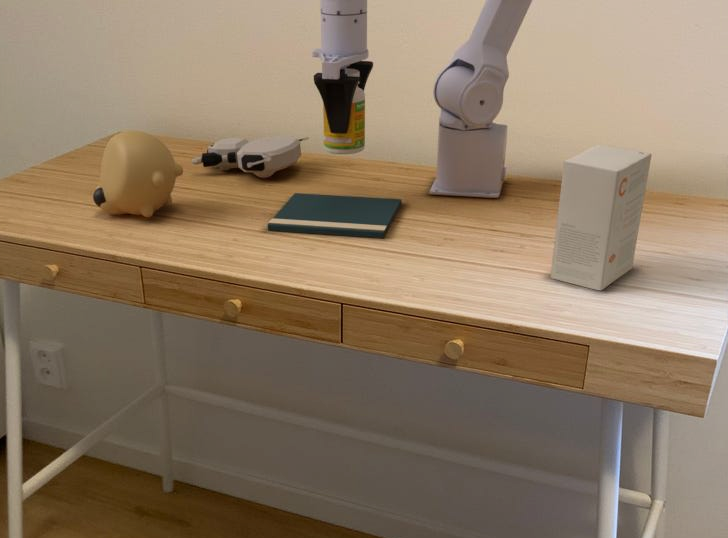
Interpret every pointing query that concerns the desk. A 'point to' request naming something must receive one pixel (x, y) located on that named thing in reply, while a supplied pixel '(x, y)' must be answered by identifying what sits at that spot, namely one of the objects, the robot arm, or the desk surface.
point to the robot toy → (253, 154)
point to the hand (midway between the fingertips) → (344, 126)
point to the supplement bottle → (356, 130)
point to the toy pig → (136, 175)
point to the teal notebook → (336, 215)
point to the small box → (599, 215)
